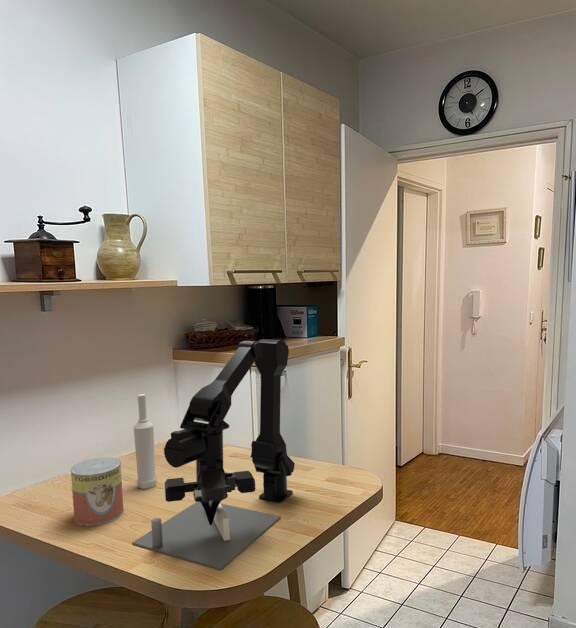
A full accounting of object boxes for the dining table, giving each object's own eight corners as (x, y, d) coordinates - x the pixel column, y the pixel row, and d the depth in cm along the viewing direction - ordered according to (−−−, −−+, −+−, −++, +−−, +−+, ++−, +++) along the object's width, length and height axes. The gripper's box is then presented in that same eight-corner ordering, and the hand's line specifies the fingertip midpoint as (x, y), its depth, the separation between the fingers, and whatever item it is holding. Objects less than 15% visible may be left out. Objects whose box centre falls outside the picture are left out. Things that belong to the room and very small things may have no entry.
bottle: (136, 483, 141) (130, 394, 139) (155, 480, 143) (150, 392, 141) (138, 490, 136) (132, 398, 134) (158, 486, 138) (152, 395, 136)
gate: (204, 507, 122) (203, 486, 122) (213, 505, 123) (212, 484, 122) (221, 541, 106) (220, 517, 105) (232, 539, 106) (231, 515, 106)
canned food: (78, 530, 115) (75, 478, 114) (70, 512, 124) (66, 464, 123) (129, 516, 121) (126, 467, 120) (117, 500, 130) (114, 454, 129)
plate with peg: (200, 500, 128) (199, 477, 127) (280, 518, 117) (279, 493, 116) (132, 544, 108) (130, 517, 107) (221, 570, 97) (219, 540, 96)
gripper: (166, 471, 98) (167, 549, 99) (260, 461, 103) (261, 536, 104) (163, 452, 109) (165, 523, 110) (249, 444, 114) (250, 512, 115)
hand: (210, 524), depth 109 cm, fingers closed
